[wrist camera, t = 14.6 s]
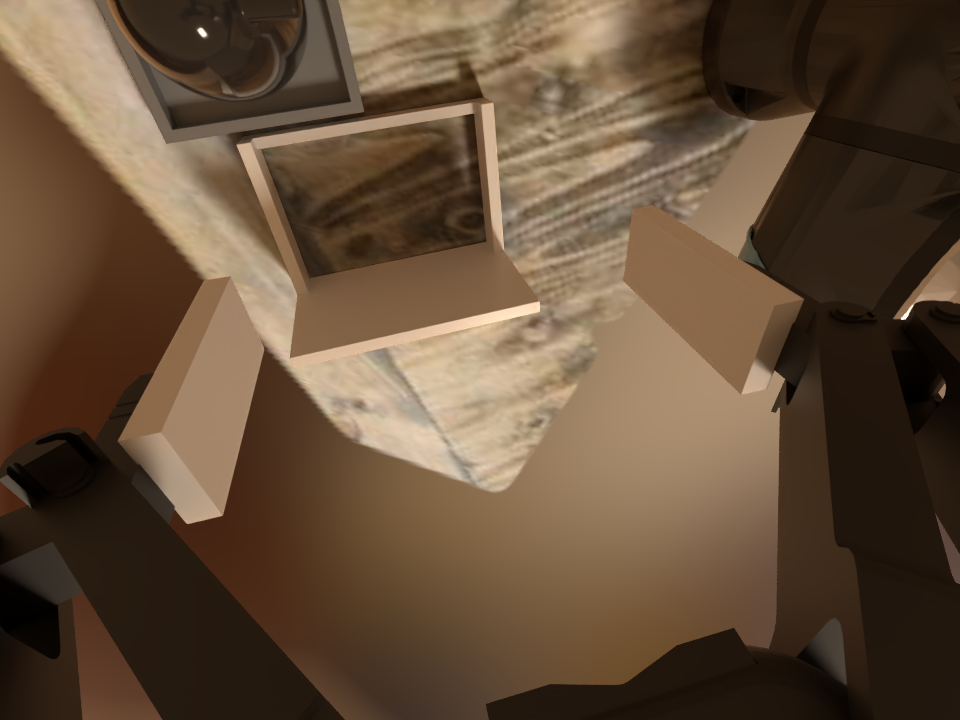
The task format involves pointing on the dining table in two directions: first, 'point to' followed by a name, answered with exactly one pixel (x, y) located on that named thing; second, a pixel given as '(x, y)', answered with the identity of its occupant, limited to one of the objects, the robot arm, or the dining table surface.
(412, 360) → the dining table surface
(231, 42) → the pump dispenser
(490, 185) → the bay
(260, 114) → the tray
